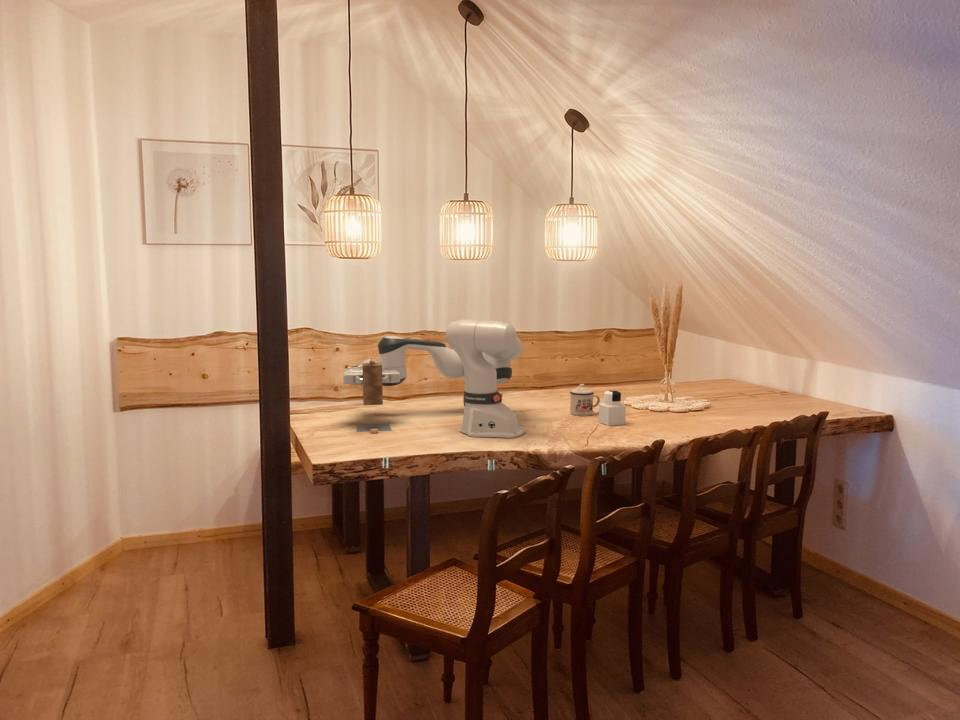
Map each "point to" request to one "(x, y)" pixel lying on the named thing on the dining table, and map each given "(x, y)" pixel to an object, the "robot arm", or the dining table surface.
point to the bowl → (374, 431)
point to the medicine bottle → (612, 409)
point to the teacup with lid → (582, 401)
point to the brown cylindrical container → (372, 383)
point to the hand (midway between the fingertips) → (372, 380)
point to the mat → (373, 427)
